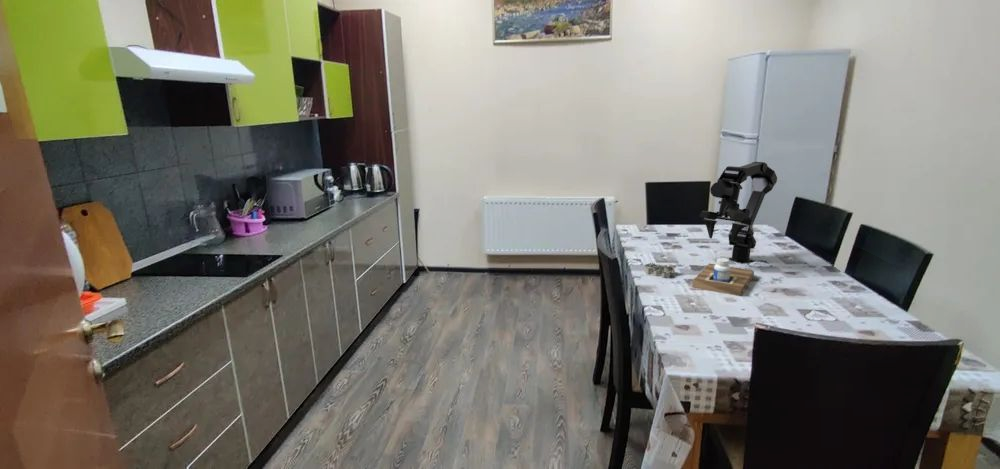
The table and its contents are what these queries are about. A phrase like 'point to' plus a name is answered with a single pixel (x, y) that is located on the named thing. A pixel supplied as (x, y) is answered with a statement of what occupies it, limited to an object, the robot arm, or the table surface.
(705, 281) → the socket board
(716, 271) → the pill bottle
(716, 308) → the table surface
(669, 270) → the egg carton
